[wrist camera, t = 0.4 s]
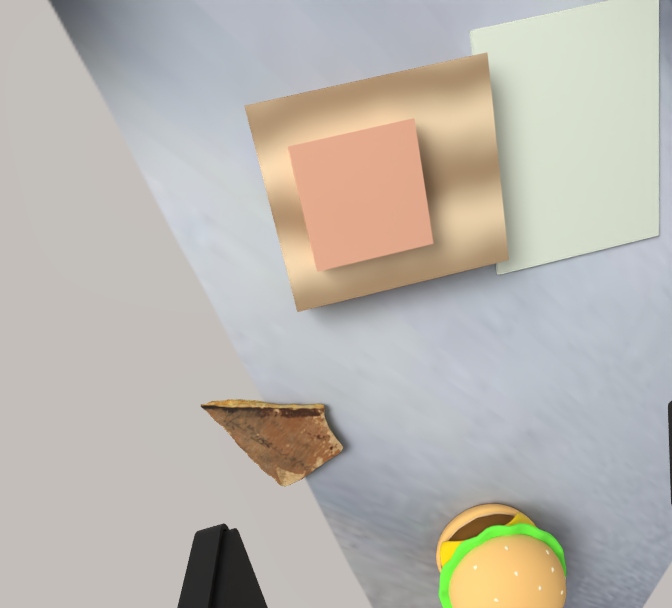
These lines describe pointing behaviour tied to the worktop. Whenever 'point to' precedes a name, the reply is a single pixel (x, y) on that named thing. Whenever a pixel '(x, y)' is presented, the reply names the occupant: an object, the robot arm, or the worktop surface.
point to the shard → (278, 435)
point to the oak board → (437, 165)
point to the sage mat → (576, 128)
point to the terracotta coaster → (362, 194)
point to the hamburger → (499, 561)
